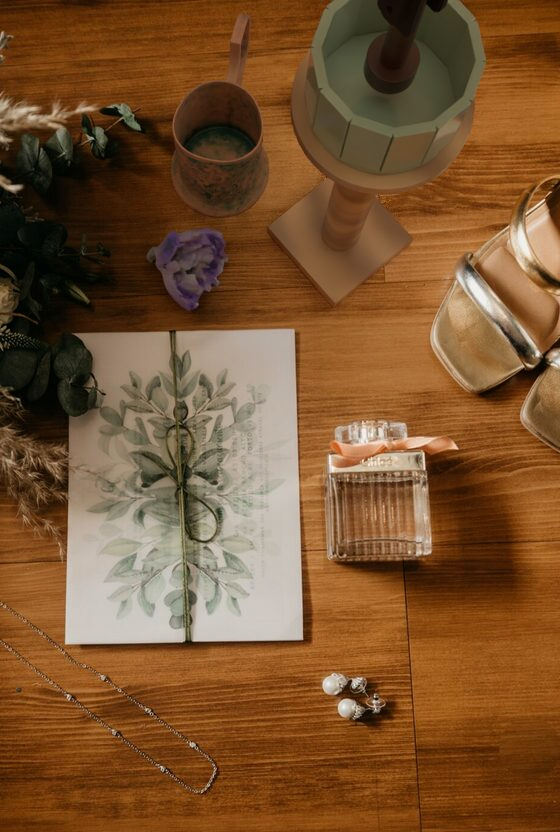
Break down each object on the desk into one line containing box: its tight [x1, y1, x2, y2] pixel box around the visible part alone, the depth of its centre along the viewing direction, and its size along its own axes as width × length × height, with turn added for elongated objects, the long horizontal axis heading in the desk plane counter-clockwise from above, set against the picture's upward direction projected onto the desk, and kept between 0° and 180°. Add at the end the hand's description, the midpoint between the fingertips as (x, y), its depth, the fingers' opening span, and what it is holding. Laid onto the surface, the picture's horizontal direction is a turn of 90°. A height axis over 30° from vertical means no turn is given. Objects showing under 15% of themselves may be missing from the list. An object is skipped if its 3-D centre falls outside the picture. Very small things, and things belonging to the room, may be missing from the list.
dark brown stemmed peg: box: [363, 0, 428, 95], centre depth 49 cm, size 4×4×12 cm
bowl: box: [304, 0, 487, 175], centre depth 56 cm, size 13×13×6 cm
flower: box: [146, 227, 229, 312], centre depth 80 cm, size 9×9×10 cm
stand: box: [266, 48, 476, 308], centre depth 71 cm, size 15×15×26 cm
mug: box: [170, 12, 270, 218], centre depth 79 cm, size 12×18×12 cm, turn 166°
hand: (410, 6), depth 48 cm, fingers closed on dark brown stemmed peg, 2 cm apart
